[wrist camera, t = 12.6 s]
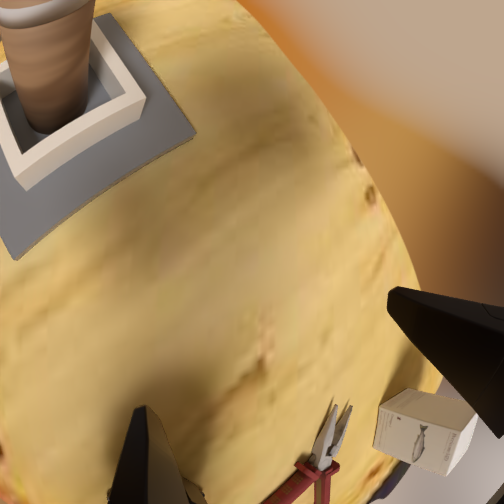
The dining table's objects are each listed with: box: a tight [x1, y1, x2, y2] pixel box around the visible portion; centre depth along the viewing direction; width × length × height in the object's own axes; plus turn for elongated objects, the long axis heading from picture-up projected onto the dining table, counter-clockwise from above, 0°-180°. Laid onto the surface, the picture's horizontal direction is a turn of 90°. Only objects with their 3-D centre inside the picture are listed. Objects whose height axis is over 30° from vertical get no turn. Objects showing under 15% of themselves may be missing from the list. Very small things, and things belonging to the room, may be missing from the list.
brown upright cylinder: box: [0, 0, 95, 135], centre depth 10 cm, size 5×5×12 cm
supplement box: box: [373, 388, 478, 476], centre depth 26 cm, size 7×7×13 cm
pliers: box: [263, 404, 353, 504], centre depth 24 cm, size 12×20×3 cm, turn 158°
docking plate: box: [0, 13, 196, 261], centre depth 14 cm, size 16×16×4 cm
